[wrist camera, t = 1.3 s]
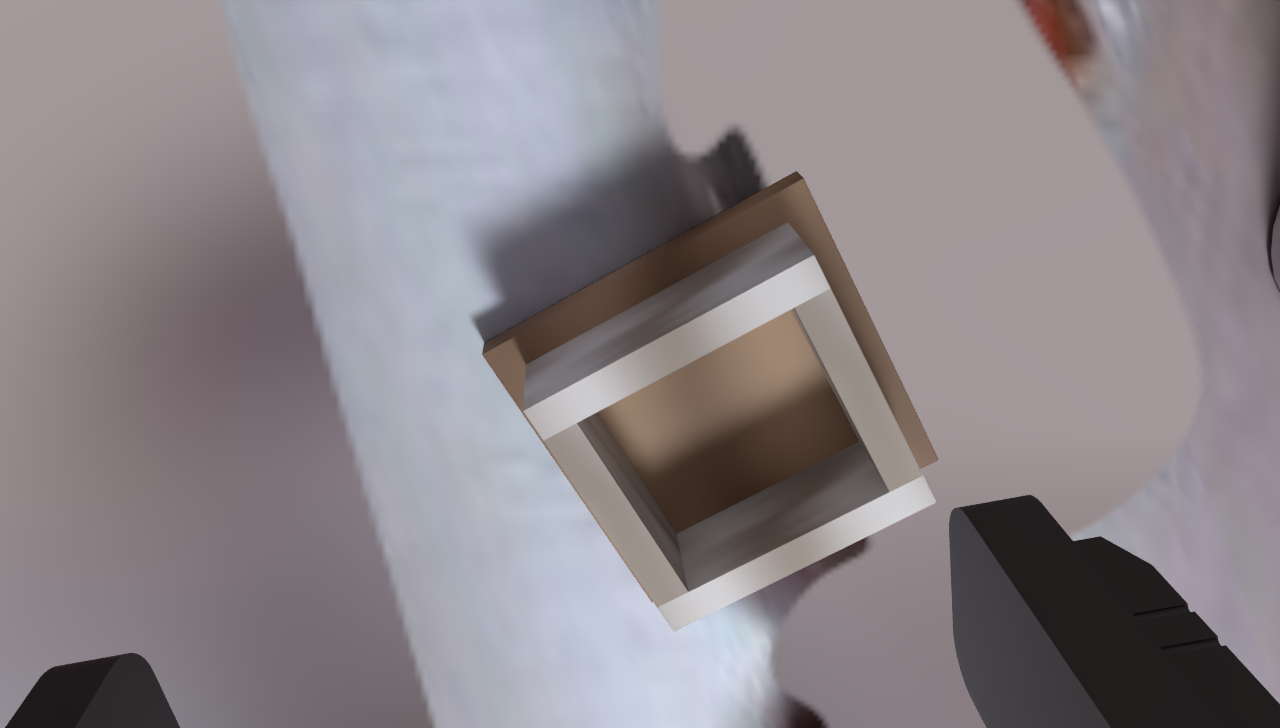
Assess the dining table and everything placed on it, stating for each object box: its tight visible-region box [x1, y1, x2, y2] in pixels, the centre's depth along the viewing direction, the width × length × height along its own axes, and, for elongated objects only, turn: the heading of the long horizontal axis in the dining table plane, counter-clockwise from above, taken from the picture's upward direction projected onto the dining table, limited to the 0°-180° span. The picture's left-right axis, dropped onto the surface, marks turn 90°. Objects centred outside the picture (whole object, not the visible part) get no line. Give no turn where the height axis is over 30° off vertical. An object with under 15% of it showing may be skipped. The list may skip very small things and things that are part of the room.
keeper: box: [482, 172, 938, 631], centre depth 33 cm, size 12×12×4 cm
